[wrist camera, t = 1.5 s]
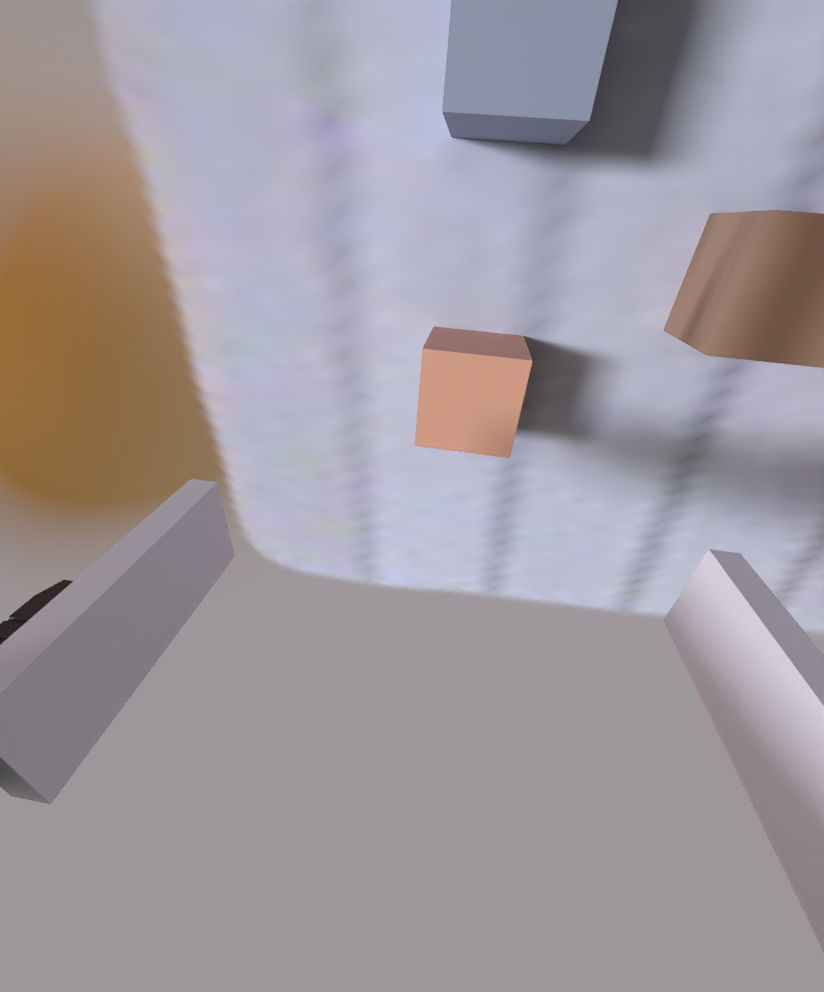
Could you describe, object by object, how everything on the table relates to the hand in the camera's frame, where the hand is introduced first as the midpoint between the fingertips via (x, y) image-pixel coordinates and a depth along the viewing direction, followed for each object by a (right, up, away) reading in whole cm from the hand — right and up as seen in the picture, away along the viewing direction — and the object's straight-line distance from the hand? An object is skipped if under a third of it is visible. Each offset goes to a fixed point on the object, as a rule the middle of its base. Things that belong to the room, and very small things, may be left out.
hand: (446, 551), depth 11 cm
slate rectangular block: (+3, +19, +5) cm, 20 cm away
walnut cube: (+15, +12, +8) cm, 21 cm away
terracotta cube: (+3, +9, +13) cm, 16 cm away
